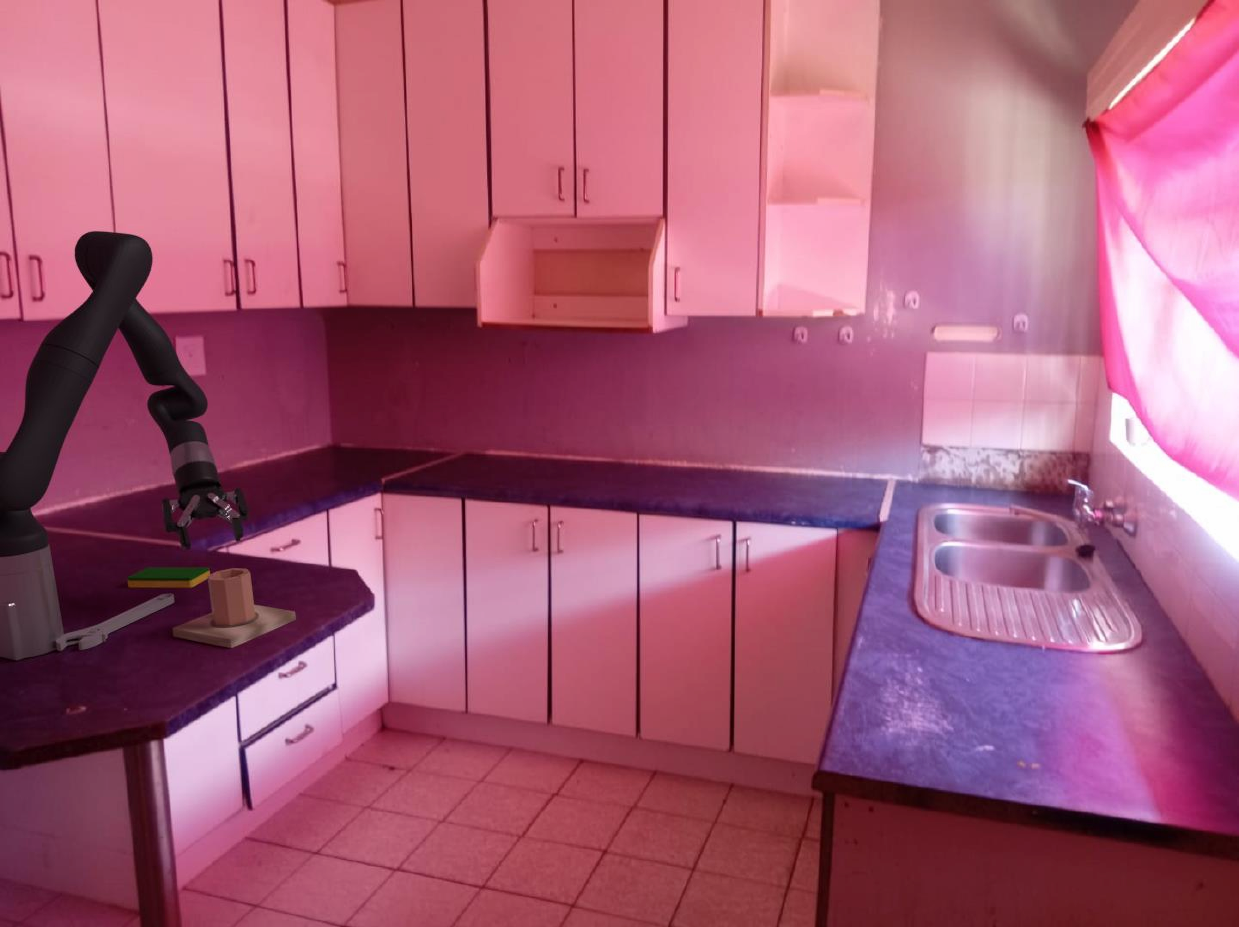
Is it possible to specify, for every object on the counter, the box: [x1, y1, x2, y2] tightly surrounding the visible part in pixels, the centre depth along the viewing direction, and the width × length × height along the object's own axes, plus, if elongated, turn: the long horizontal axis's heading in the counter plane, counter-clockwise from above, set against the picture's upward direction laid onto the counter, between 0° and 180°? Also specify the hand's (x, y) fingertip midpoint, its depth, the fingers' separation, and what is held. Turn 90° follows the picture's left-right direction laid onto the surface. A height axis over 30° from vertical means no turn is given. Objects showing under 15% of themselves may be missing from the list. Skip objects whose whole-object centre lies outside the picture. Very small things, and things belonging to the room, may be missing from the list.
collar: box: [207, 567, 255, 626], centre depth 165 cm, size 6×6×8 cm
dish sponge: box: [126, 567, 211, 589], centre depth 194 cm, size 7×14×2 cm, turn 83°
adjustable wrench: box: [56, 593, 175, 652], centre depth 169 cm, size 25×6×2 cm, turn 161°
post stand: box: [172, 604, 297, 649], centre depth 165 cm, size 14×14×9 cm
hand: (213, 543), depth 173 cm, fingers open, 8 cm apart
